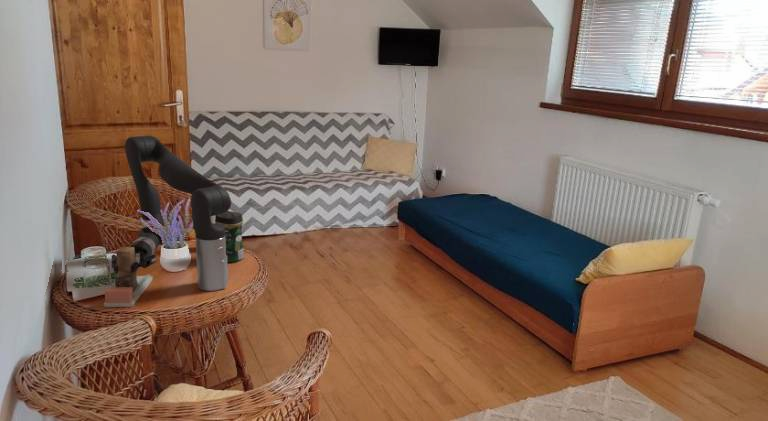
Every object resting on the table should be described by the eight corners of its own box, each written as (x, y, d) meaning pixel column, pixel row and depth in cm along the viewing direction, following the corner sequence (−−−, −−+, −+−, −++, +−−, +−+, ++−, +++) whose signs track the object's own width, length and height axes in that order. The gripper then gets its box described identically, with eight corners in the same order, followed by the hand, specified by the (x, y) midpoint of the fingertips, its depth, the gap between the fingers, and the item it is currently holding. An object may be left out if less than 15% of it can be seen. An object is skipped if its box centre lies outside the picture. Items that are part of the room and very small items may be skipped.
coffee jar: (212, 260, 204) (210, 211, 199) (226, 253, 211) (224, 207, 206) (234, 264, 201) (232, 215, 196) (247, 258, 208) (246, 210, 203)
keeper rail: (152, 279, 184) (151, 265, 183) (132, 306, 164) (131, 291, 163) (127, 279, 183) (126, 265, 182) (104, 306, 163) (102, 291, 162)
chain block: (138, 285, 175) (135, 246, 172) (131, 295, 169) (127, 254, 165) (123, 285, 175) (120, 246, 171) (116, 295, 168) (112, 254, 164)
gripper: (117, 240, 183) (98, 258, 166) (162, 240, 184) (147, 258, 168) (119, 261, 185) (100, 281, 168) (163, 261, 186) (148, 281, 170)
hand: (123, 269), depth 168 cm, fingers closed on chain block, 4 cm apart
